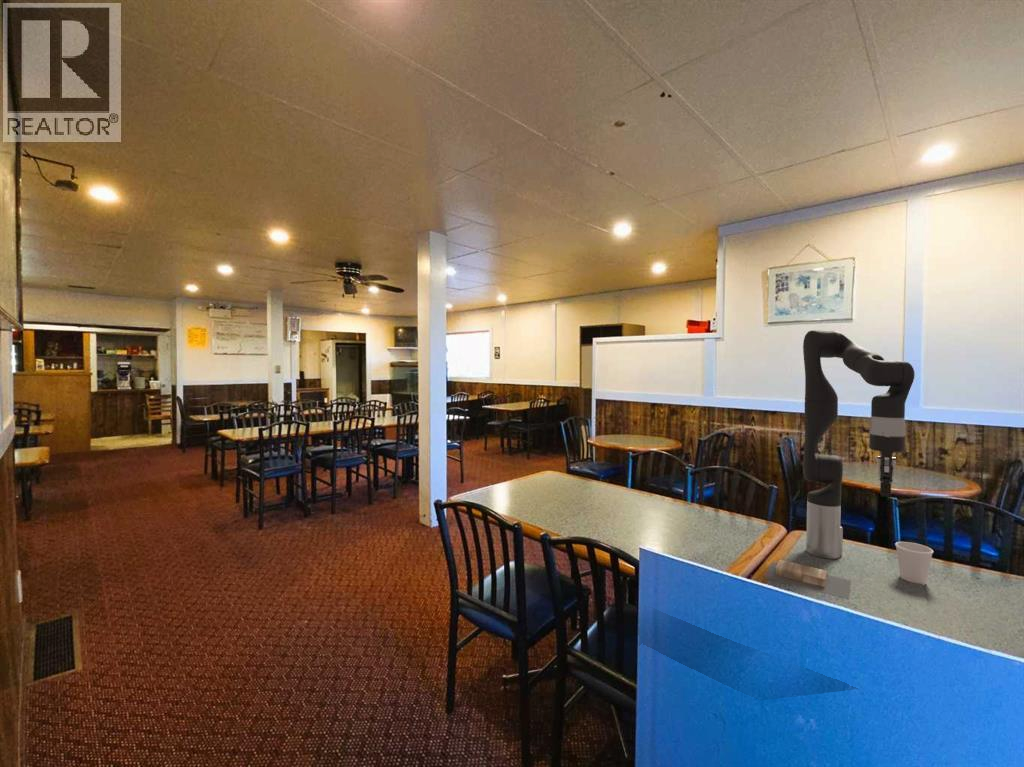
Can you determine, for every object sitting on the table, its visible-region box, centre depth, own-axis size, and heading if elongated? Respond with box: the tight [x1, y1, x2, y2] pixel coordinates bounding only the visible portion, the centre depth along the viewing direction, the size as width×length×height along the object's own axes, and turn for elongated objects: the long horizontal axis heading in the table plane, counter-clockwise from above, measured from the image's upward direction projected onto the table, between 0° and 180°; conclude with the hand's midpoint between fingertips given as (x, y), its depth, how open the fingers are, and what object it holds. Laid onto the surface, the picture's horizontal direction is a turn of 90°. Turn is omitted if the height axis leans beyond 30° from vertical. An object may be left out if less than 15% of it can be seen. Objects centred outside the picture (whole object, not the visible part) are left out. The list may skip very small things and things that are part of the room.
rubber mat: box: [763, 561, 852, 600], centre depth 130 cm, size 20×14×1 cm
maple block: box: [776, 559, 828, 588], centre depth 130 cm, size 2×7×12 cm
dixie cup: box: [894, 541, 934, 586], centre depth 130 cm, size 8×8×10 cm
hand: (885, 496), depth 122 cm, fingers closed
